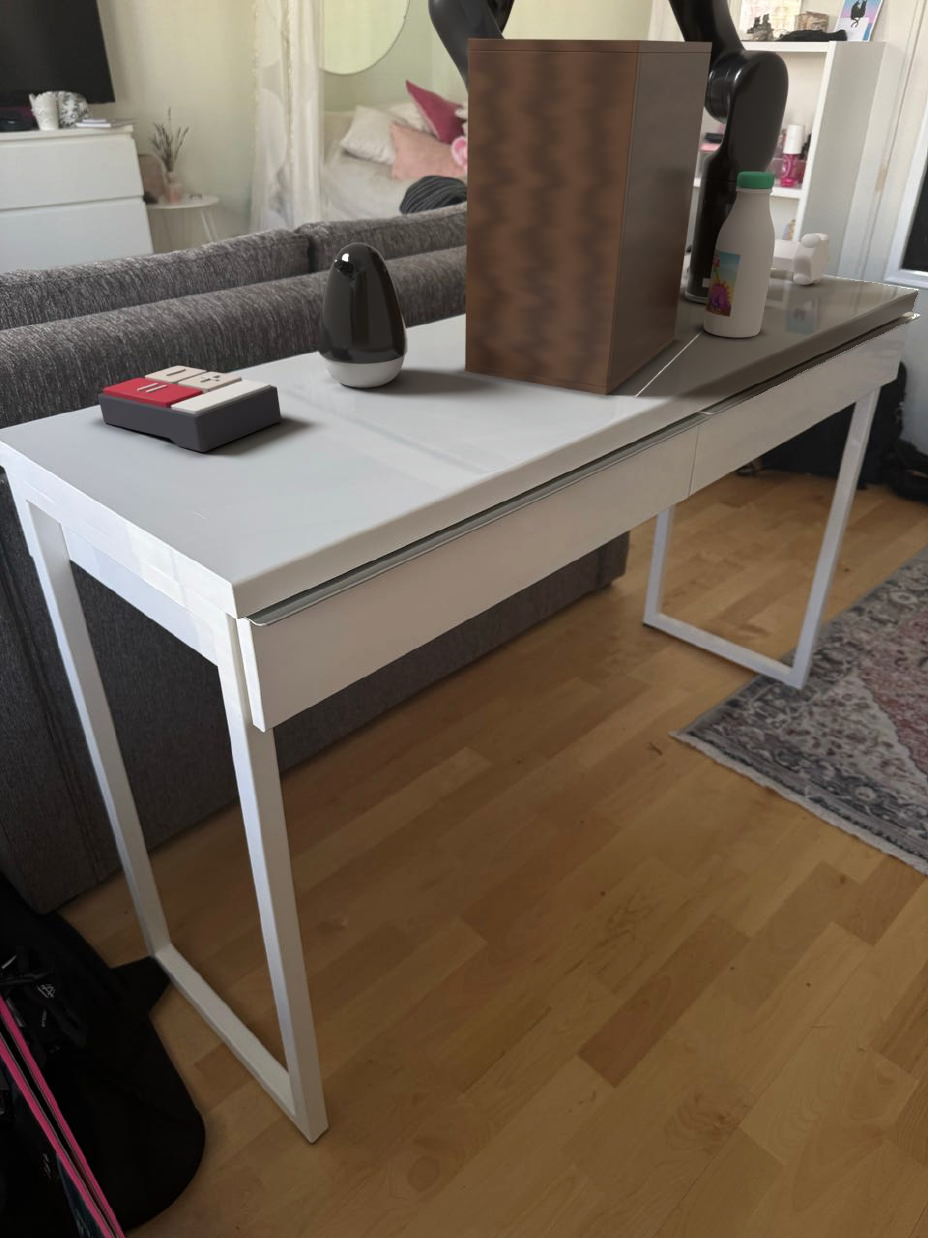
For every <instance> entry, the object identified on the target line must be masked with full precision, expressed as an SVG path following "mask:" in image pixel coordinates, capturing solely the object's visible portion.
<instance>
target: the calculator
mask: <svg viewBox="0 0 928 1238" xmlns="http://www.w3.org/2000/svg"><path fill="white" fill-rule="evenodd" d="M102 391H103V392H100V393H98V395H97V398H98V403H99V406H100V411H101V415H102V419H103V423H104V424H107V425H108V424H109V425H113V426H116V427H121V428H125V429H128V430H129V429H130V430H133V431H138V432H141V433H146V434H150V435H153V436H158V437H163V438H165V439H170V440H171V442H172V443H174V444H175V445H176V446H178V447H181V448H185V449H188V450H192V451H196V452H201V453H204V452H208V451H210V450H213V449H215V448H217V447H220V446H222V445H225V444H227V443H230V442H233V441H235V440H237V439H241V438H243V437H245V436H247V435H249V434H252V433H254V432H258V431H259V430H262V429H264V428H267V427H269V426H272V425H274V424H277V423H279V422H281V421H282V415H281V414H282V413H281V407H280V399H279V392H278V387H277V386H273V385H271V383H267V382H264V381H263V382H262V381H256V380H251V379H242V377H241V376H239V375H233V374H228V373H224V372H223V373H222V372H216V371H207V370H205V369H200V368H194V367H189V366H183V365H174V366H172V367H167V368H165V369H162V370H159V371H155V372H153V373H149V374H146V375H144V377H137V378H133V379H130V380H126V381H124V382H119V383H116V384H113V385H109V386H107V387H104V388H102Z"/></svg>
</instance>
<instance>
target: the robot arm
mask: <svg viewBox="0 0 928 1238" xmlns="http://www.w3.org/2000/svg"><path fill="white" fill-rule="evenodd" d="M515 1H516V0H427V7H428V8H427V9H428V15H429V18H430V21H431V24H432V26H433V28H434V31H435V32H436V34H437V36H438V38H439V40H440V42H441V43H442V45H443V47H444V48H445V51H446V52H447V54H448V56H449V57H450V59H451V61H452V62H453V64H454V65H455V67H456V68H457V71H458V73H459V75H460V77H461V79H462V82H463V84H464V88H465V90H466V93H467V94H468V51H469V50H468V39H506V38H505V36H504V35H503V33H504V31H505V29H506V27H507V25H508V21H509V19H510V17H511V13H512V10H513V7H514V4H515ZM668 3H669V6H670V9H671V11H672V14H673V16H674V19H675V21H676V24H677V27H678V28H679V31H680V33H681V35H682V38H683V42H712V48H711V55H710V63H709V71H708V79H707V86H706V94H705V102H704V109H705V111H706V113H708V116H709V117H711V118H712V119H713V120H714V121H716V122H718V123H721V124H724V125H725V126H724V132H723V137H722V140H721V143H720V144H719V146H717V148H716V149H715V150H714V151H712V152H710V153H708V154H707V155H706V156H705V157H704V158H703V161H702V167H701V175H700V176H701V177H700V180H699V181H700V182H699V190H698V197H697V205H696V213H695V220H694V227H693V228H694V229H693V235H692V243H691V244H690V245H689V246H687V247H686V249H685V254H690V258H689V266H688V267H687V268H686V273H687V280H686V288H685V289H684V298H685V299H686V300H687V301H690V302H694V303H698V304H702V305H706V304H707V297H708V291H709V284H710V277H711V271H712V264H713V258H714V252H715V247H716V242H717V238H718V235H719V232H720V230H721V228H722V226H723V224H724V222H725V221H726V219H727V217H728V215H729V214H730V212H731V210H732V208H733V205H734V203H735V200H736V197H737V191H736V188H737V178H738V175H739V173H741V172H767V173H768V169H769V166H770V165H771V163H772V161H773V159H774V157H775V155H776V152H777V148H778V145H779V139H780V135H781V131H782V127H783V122H784V121H783V120H784V118H785V117H784V116H785V111H786V107H787V103H788V102H787V101H788V97H789V86H790V85H789V82H790V79H789V77H790V76H789V71H788V67H787V64H786V62H785V60H784V59H783V57H782V56H781V55H779V54H778V53H776V52H774V51H771V50H761V49H746V47H745V46H744V44H743V43H742V40H741V38H740V36H739V34H738V31H737V28H736V25H735V23H734V21H733V18H732V15H731V11H730V6H729V2H728V0H668Z"/></svg>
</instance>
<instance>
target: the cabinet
mask: <svg viewBox="0 0 928 1238" xmlns="http://www.w3.org/2000/svg"><path fill="white" fill-rule="evenodd" d="M711 48H712V42H685V41H684V40H683V41H681V40H679V41H678V40H654V39H653V40H651V39H650V40H649V39H565V38H564V39H561V38H560V39H556V38H554V39H553V38H548V39H547V38H546V39H545V38H505V39H468V50H469V51H468V93H467V142H466V143H467V144H466V145H467V146H466V147H467V149H466V150H467V151H466V154H467V157H466V158H467V159H466V160H467V161H466V238H465V241H466V246H465V248H466V249H465V251H466V254H465V255H466V256H465V332H464V333H465V334H464V335H465V336H464V337H465V344H464V345H465V346H464V347H465V348H464V372H465V373H471V374H476V375H477V374H478V375H483V376H489V377H495V378H502V379H507V380H511V381H517V382H518V381H519V382H524V383H530V384H536V385H542V386H548V387H553V388H560V389H566V390H572V391H578V392H585V393H590V394H596V395H600V396H601V395H602V396H607V395H608V394H609V393H611V392H612V391H613V390H615V389H616V388H617V387H619V386H620V385H621V384H622V383H623V382H625V381H626V380H627V379H628V378H629V377H631V376H632V375H633V374H634V373H636V372H637V371H638V370H640V369H641V368H642V367H643V366H645V365H646V364H647V363H648V362H649V361H651V360H652V359H653V358H654V357H655V356H657V355H659V354H660V353H661V352H662V351H663V350H664V349H666V348H667V347H668V346H669V345H671V344H672V343H673V342H674V340H675V332H676V325H677V316H678V309H679V302H680V294H681V286H682V279H683V272H684V270H683V269H684V263H685V255H686V249H687V239H688V233H689V224H690V216H691V210H692V201H693V194H694V193H693V192H694V187H695V179H696V172H697V162H698V155H699V147H700V141H701V132H702V125H703V124H702V123H703V116H704V109H705V107H704V102H705V94H706V86H707V79H708V71H709V63H710V55H711Z"/></svg>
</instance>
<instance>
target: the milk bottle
mask: <svg viewBox="0 0 928 1238" xmlns="http://www.w3.org/2000/svg"><path fill="white" fill-rule="evenodd" d="M775 180H776V176H775V174H774V173H772V172H768V171H767V172H741V173H739V175H738V178H737V188H736V191H737V197H736V200H735V203H734V205H733V208H732V210H731V212H730V214H729V215H728V217H727V219H726V221H725V222H724V224H723V226H722V228H721V230H720V232H719V235H718V238H717V242H716V247H715V252H714V258H713V264H712V271H711V277H710V284H709V291H708V297H707V304H705V312H704V317H703V318H704V319H703V329H704V331H706V332H707V333H709V334H712V335H715V336H720V337H724V338H725V337H726V338H751V337H754V336H757V335H758V334H759V333H760V331H761V328H762V323H763V318H764V313H765V306H766V301H767V297H768V291H769V290H768V289H769V284H770V279H771V274H772V273H771V272H772V269H773V268H772V262H773V255H774V248H775V239H776V233H775V227H774V222H773V218H772V214H771V206H770V196H771V194H772V193H773V191H774V190H773V188H774V185H775Z"/></svg>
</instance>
